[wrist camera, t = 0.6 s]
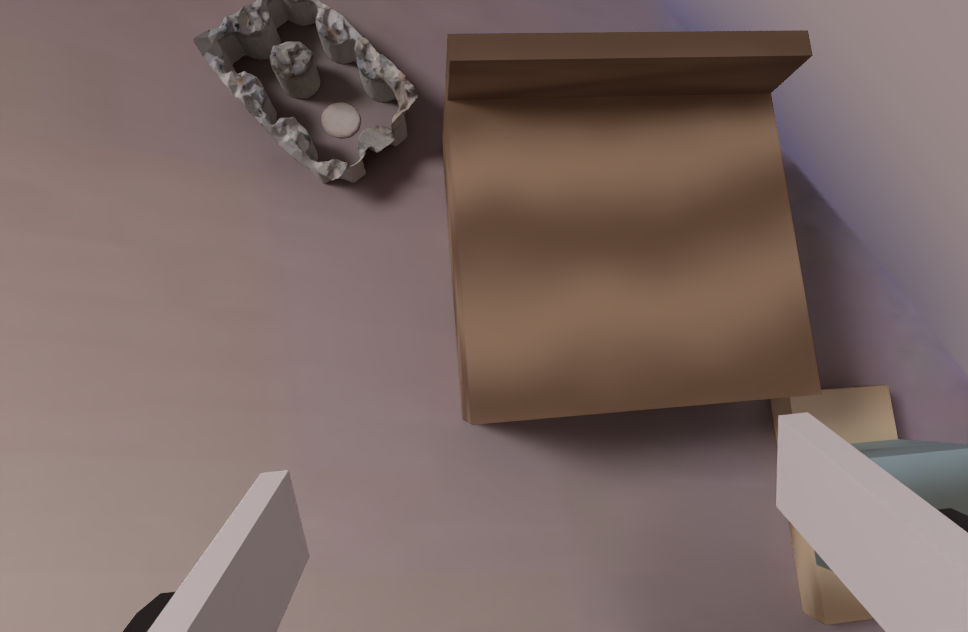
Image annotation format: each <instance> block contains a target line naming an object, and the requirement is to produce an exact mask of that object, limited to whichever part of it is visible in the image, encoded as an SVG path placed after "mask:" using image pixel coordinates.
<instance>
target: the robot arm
mask: <svg viewBox="0 0 968 632" xmlns="http://www.w3.org/2000/svg"><path fill="white" fill-rule="evenodd" d="M776 507H777V508H778V509H779V510H780V511H781V512H782V513H783V515H784V516H785V517H786V518H787V519H788V520H789V521H790V523H791V524H792V525H793V526H794V527H795V528H796V529H797V531H798V532H799V533H800V534H801V535H802V536H803V538H804V539H805V540H806V541H807V542H808V543H809V544H810V546H811V547H812V548H813V549H814V550H815V551H816V552H817V554H818V555H819V556H820V557H821V558H822V559H823V561H824V562H825V563H826V564H827V565H828V566H829V567H830V569H831V570H832V571H833V572H834V573H835V574H836V575H837V577H838V578H839V579H840V580H841V581H842V582H843V584H844V585H845V586H846V587H847V588H848V589H849V590H850V592H851V593H852V594H853V595H854V596H855V597H856V598H857V600H858V601H859V602H860V603H861V604H862V605H863V606H864V608H865V609H866V610H867V611H868V612H869V613H870V615H871V616H872V617H873V618H874V619H875V620H876V621H877V623H878V624H879V625H880V626H881V627H882V628H883V629H884V631H885V632H968V516H967V515H965V514H963V513H961V512H959V511H956V510H954V509H952V508H946V509H936V508H934V507H933V506H932V505H930V504H929V503H928V502H926V501H925V500H924V499H922V498H921V497H920V496H918V495H917V494H916V493H914V492H913V491H912V490H910V489H909V488H908V487H906V486H905V485H904V484H902V483H901V482H900V481H898V480H897V479H896V478H894V477H893V476H892V475H890V474H889V473H888V472H886V471H885V470H884V469H882V468H881V467H880V466H878V465H877V464H876V463H874V462H873V461H872V460H870V459H869V458H868V457H866V456H865V455H864V454H862V453H861V452H860V451H858V450H857V449H856V448H854V447H853V446H852V445H850V444H849V443H848V442H846V441H845V440H844V439H842V438H841V437H840V436H838V435H837V434H836V433H834V432H833V431H832V430H830V429H829V428H828V427H826V426H825V425H824V424H823V423H821V422H820V421H819V420H817V419H816V418H815V417H813V416H812V415H811V414H809V413H808V412H806V413H797V414H788V415H779V416H778V453H777V496H776ZM308 558H309V553H308V548H307V544H306V540H305V536H304V532H303V528H302V523H301V519H300V515H299V511H298V507H297V503H296V498H295V494H294V490H293V486H292V482H291V478H290V473H289V470H284V471H275V472H266V473H261V474H260V475H259V476H258V478H257V479H256V481H255V482H254V483H253V485H252V486H251V488H250V489H249V490H248V492H247V493H246V494H245V496H244V497H243V499H242V500H241V501H240V503H239V504H238V506H237V507H236V508H235V510H234V511H233V513H232V514H231V515H230V517H229V518H228V520H227V521H226V522H225V524H224V525H223V527H222V528H221V529H220V531H219V532H218V534H217V535H216V536H215V538H214V539H213V541H212V542H211V543H210V545H209V546H208V548H207V549H206V550H205V552H204V553H203V555H202V556H201V557H200V559H199V560H198V562H197V563H196V564H195V566H194V567H193V568H192V570H191V571H190V573H189V574H188V575H187V577H186V578H185V580H184V581H183V582H182V584H181V585H180V587H179V588H178V589H177V591H176V592H170V593H161V594H159V595H158V596H157V597H156V598H155V599H153V600H152V601H151V602H150V603H149V604H147V605H146V606H145V607H144V608H143V609H141V610H140V611H139V612H138V613H137V614H136V615H135V616H134V618H133V619H132V620H131V622H130V623H129V624H128V625H127V627H126V628H125V629H124V631H123V632H276V631H277V629H278V627H279V624H280V622H281V620H282V617H283V615H284V613H285V611H286V608H287V606H288V604H289V601H290V599H291V597H292V595H293V592H294V590H295V588H296V586H297V583H298V581H299V579H300V576H301V574H302V572H303V570H304V567H305V565H306V563H307V560H308Z"/></svg>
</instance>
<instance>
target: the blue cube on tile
mask: <svg viewBox="0 0 968 632" xmlns="http://www.w3.org/2000/svg"><path fill="white" fill-rule="evenodd" d="M821 392H822V394H821V395H809V396H798V397H786V398H775V399H770V402H771V409H772V415H773V422H774V428H775V434H776V441H777V447H778V416H779V415H788V414H797V413H806V412H808V413H809V414H811V415H812V416H813V417H815V418H816V419H817V420H819V421H820V422H821V423H823V424H824V425H825V426H826V427H828V428H829V429H830V430H832V431H833V432H834V433H836V434H837V435H838V436H840V437H841V438H842V439H844V440H845V441H846V442H848V443H849V444H850V445H852V446H853V447H854V448H856V449H857V450H858V451H860V452H861V453H862V454H864V455H865V456H866V457H868V458H869V459H870V460H872V461H873V462H874V463H876V464H877V465H878V466H880V467H881V468H882V469H884V470H885V471H886V472H888V473H889V474H890V475H892V476H893V477H894V478H896V479H897V480H898V481H900V482H901V483H902V484H904V485H905V486H906V487H908V488H909V489H910V490H912V491H913V492H914V493H916V494H917V495H918V496H920V497H921V498H922V499H924V500H925V501H926V502H928V503H929V504H930V505H932V506H933V507H934V508H936V509H946V508H952V509H954V510H956V511H959V512H961V513H963V514H965V515H967V516H968V445H967V444H954V443H941V442H929V441H916V440H904V439H898V436H897V431H896V425H895V420H894V414H893V409H892V404H891V398H890V393H889V388H888V385H872V386H855V387H844V388H832V389H821ZM789 525H790V531H791V538H792V544H793V551H794V557H795V564H796V570H797V577H798V583H799V589H800V596H801V602H802V609H803V613H805V614H807V615H809V616H810V617H812V618H814V619H816V620H818V621H819V622H821V623H823V624H825V625H832V624H839V623H846V622H854V621H861V620H868V619H874V618H873V617H872V616H871V615H870V613H869V612H868V611H867V610H866V609H865V608H864V606H863V605H862V604H861V603H860V602H859V601H858V600H857V598H856V597H855V596H854V595H853V594H852V593H851V592H850V590H849V589H848V588H847V587H846V586H845V585H844V584H843V582H842V581H841V580H840V579H839V578H838V577H837V575H836V574H835V573H834V572H833V571H832V570H831V569H830V567H829V566H828V565H827V564H826V563H825V562H824V561H823V559H822V558H821V557H820V556H819V555H818V554H817V552H816V551H815V550H814V549H813V548H812V547H811V546H810V544H809V543H808V542H807V541H806V540H805V539H804V538H803V536H802V535H801V534H800V533H799V532H798V531H797V529H796V528H795V527H794V526H793V525H792V524H791V523H790V521H789Z"/></svg>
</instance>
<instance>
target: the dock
mask: <svg viewBox="0 0 968 632" xmlns="http://www.w3.org/2000/svg"><path fill="white" fill-rule="evenodd" d="M811 56H812V51H811V45H810V39H809V34H808V31H723V32H722V31H715V32H607V33H502V34H448V39H447V59H446V80H445V101H444V121H443V142H442V148H443V161H444V175H445V188H446V202H447V216H448V229H449V243H450V256H451V270H452V283H453V297H454V310H455V324H456V337H457V351H458V365H459V378H460V392H461V405H462V419H463V420H464V421H466V422H468V423H470V424H472V425H475V424H487V423H498V422H510V421H522V420H533V419H545V418H556V417H568V416H579V415H591V414H602V413H614V412H625V411H637V410H648V409H660V408H671V407H683V406H694V405H706V404H717V403H729V402H740V401H752V400H763V399H775V398H786V397H798V396H809V395H821V394H822V392H821V386H820V380H819V374H818V368H817V362H816V356H815V350H814V344H813V339H812V333H811V327H810V321H809V315H808V309H807V303H806V297H805V291H804V285H803V280H802V274H801V268H800V262H799V256H798V250H797V244H796V238H795V232H794V227H793V221H792V215H791V209H790V203H789V197H788V191H787V185H786V179H785V173H784V168H783V162H782V156H781V150H780V144H779V138H778V132H777V126H776V120H775V114H774V109H773V103H772V97H771V92H773V91H774V89H776V88H777V87H778V86H779V85H780V84H781V83H782V82H784V80H786V79H787V78H788V77H789V76H790V75H791V74H792V73H793V72H795V70H797V69H798V68H799V67H800V66H801V65H802V64H803V63H804V62H806V61H807V60H808V59H809V58H810V57H811Z"/></svg>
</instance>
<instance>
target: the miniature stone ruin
mask: <svg viewBox="0 0 968 632" xmlns="http://www.w3.org/2000/svg"><path fill="white" fill-rule="evenodd" d="M286 21H291V22H293V23H295V24H297V25H302V26H306V25H311V24H313V23H316V27H317V30H318V34H319V37H320V40H321V43H322V47H323V50H324V52H325V54H326V55H327V57H328V58H329V59H331V60H332V61H334V62H336V63H340V64H345V63H350V62H353V61H354V62H355V63H356V64H357V66H358V69H359V73H360V77H361V82H362V85H363V88H364V91H365V93H366V94H367V96H368V97H370V98H371V99H373V100H375V101H378V102H388V101H392V100H394V99H395V100H397V101H398V106H399V108H398V110H397V112H396V114H395V115H394V116H393V120H392V125H391V127H392V130H391V129H389V128H388V127H384V126H380V125H379V126H373V127H370V128H367V129H365V130H364V131H363V132H362V133H361V134H360V136H359V138H358V141H357V149H358V153H359V156H360V160H359V161H358V162H357V163H355V164H354V165H351V166H349V165H348V164H347V162H342V161H340V160H338V159H331V160H329V161H324V162H318V154H317V151H316V148H315V146H314V144H313V141H312V139H311V137H310V134H309V132H308V131H307V130H306V129H305V128H304V127H303V126H302V125H301V124H299V123H298V121H297V120H296V118H295V117H290V118H279V119H278V121H277V122H276V120H277V113H276V110H275V108H274V107H273V105H272V103H271V101H270V99H269V97H268V95H267V93H266V91H265V89H264V87H263V85H262V83H261V81H260V80H259V79H258V78H257V77H256V76H254V75H252V74H249V73H247V72H245V71H244V72H241V73H238V74H237V73H236V71H235V69H234V67H233V64H234V63H235V62H236V61H238V60H239V59H240V58H241V57H243V56H245V55H247V56H250V57H251V58H254V59H259V60H263V59H269V58H270V62H271V66H272V70H273V71H274V73H275V75H276V77H277V79H278V81H279V83H280V85H281V87H282V89H283V90H284V92H285V93H286V94H287V95H289V96H291V97H293V98H298V99H306V98H309V97H311V96H313V95H314V94H315V93H316V92H317V91H318V89H319V87H320V77H319V73H318V70H317V67H316V64H315V61H314V58H313V52H312V51H311V50H309V49H308V48H307V47H306V46H305V45H304V44H302V43H301V42H298V41H290V42H285V43H282V44H281V40H280V37H279V34H278V32H277V28H279V27H280V26H281V25H282V24H283V23H285V22H286ZM194 42H195V44H196V46H197V47H198V49H199V50H200V52H201V53H202V55H203V57H204V58H205V59H206V61H207V62H208V63H209V65H210V66H211V67H212V69H213V70H214V71H215V73H216V74H217V75H218V77H219V78H220V79H221V80H222V82H223V83H224V84H225V85H226V86H227V87H228V88H229V90H230V92H231V93H232V94H233V95H234V96H235V97H236V98H237V99H238V100H239V101H240V102H242V103H243V104H244V106H245V107H246V108H247V109H248V111H249V112H250V113H251V114H252V115H253V116H254V117H255V118H256V119H257V120H258V121H259V122H260V124H261V125H262V126H263V127H264V128H265V129H266V130H267V132H268V133H269V134H270V135H271V136H272V138H273V139H274V140H275V141H276V142H277V143H278V144H279V145H280V146H281V147H282V148H283V149H284V150H286V151H287V152H288V153H289V154H290V155H291V156H292V157H293V158H295V159H296V160H297V161H298V162H299V163H301V164H302V165H304V166H306V167H307V168H309V169H311V170H312V172H313V174H314V175H315V176H316V177H317V178H318V179H319V180H320V181H321V182H322V183H327V182H329V181H330V180H335V179H344V180H347V181H349V182H351V183H354V182H356V181H357V180H359V179H360V178H361V177H363V176H364V175H365V174H366V171H365V168H364V164H363V161H362V159H363V157H364V156H365V151H366V149H368V148H369V149H371V150H373V151H375V152H376V153H378V152H379V151H381V150H382V149H383V148H385V147H386V146H388V145H389V144H391V145H393V146H395V147H396V146H397V145H399V144H400V143H401V142H402V141H403V140H405V139H406V138H407V127H406V121H405V116H404V115H405V113H406V110H408V109H409V107H410V105H411V104H412V103H413V102H414V101H415V100H416V99H417V98H418V94H417V93H416V92H415V90H416V89H415V87H414V86H413V85H412V84H411V83H410V82H409V81H408V79H407V77H406V76H405V75H404V74H403V73H402V72H401V71H399V70H398V69H397V67H396V66H395V65H394V64H393V63H392V62H391V61H390V60H389V59H388V58H386V57H385V56H384V55H383V54H381V55H380V54H379V53H378V52H377V51H376V50H375V49H374V47H373V46H372V45H371V44H370V42H369V41H368V40H367V39H366V38H363V37H362V36H361V35H360V34H359V33H358V32H357V31H356V30H355V29H354V28H353V27H352V26H351V25H350V24H349V22H348V21H347V20H346V19H345V18H344V17H343V16H342V15H340V14H339V13H337V12H336V11H334V10H333V9H332V8H330V7H328V6H327V5H325V4H322V3H321V2H320V1H319V0H257V1H256V2H254V3H253V4H252V5H246V6H243V7H242V8H241V9H240V10H239V11H238V12H236V13H234V14H232V15H229V16H226V17H224V20H223V22H222V24H221V25H220V27H219V28H216V29H211V30H208V31H206V32H204V33H202V34H200V35H199V36H197V37H195V38H194ZM321 119H322V125H323V127H324V129H325V131H326V132H327V133H328V134H329V135H331V136H333V137H336V138H348V137H350V136H352V135H353V134H355V133H356V132H357V130H358V129H359V126H360V122H361V120H360V115H359V113H358V111H357V110H356V108H354V107H353V106H352V105H349V104H348V103H343V102H337V103H334V104H331V105H329V106H328V107H327V108H326V109H325V110H324V112H323V114H322V117H321Z"/></svg>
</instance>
